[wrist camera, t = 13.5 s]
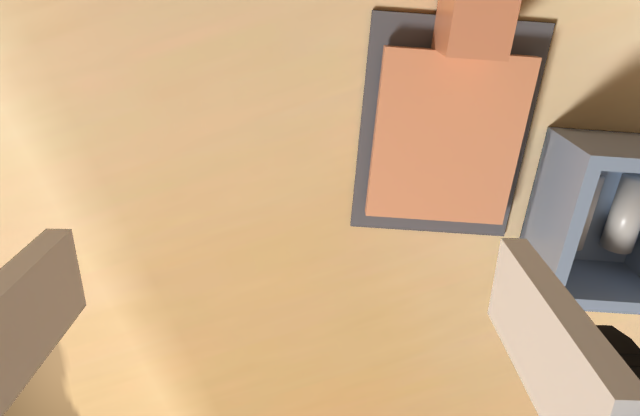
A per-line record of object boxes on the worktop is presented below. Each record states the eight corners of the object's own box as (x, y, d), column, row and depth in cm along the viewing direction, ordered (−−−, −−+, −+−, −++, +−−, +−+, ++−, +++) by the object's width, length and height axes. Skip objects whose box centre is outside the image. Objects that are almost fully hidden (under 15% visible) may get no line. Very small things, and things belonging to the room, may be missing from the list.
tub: (548, 126, 39) (590, 155, 33) (675, 135, 40) (742, 165, 33) (513, 261, 44) (544, 308, 38) (627, 268, 44) (677, 316, 38)
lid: (391, -33, 35) (401, -35, 30) (551, -21, 35) (585, -21, 30) (364, 207, 42) (369, 235, 37) (496, 216, 42) (517, 245, 38)
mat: (372, 10, 36) (372, 10, 36) (553, 23, 36) (555, 23, 36) (350, 224, 43) (350, 226, 43) (502, 234, 43) (503, 236, 43)
